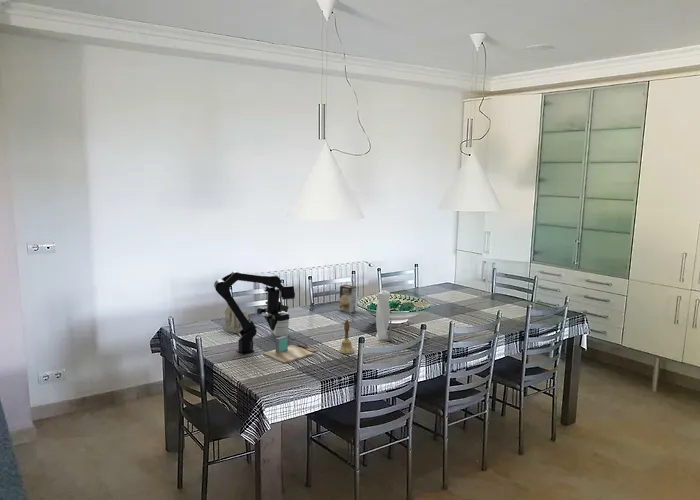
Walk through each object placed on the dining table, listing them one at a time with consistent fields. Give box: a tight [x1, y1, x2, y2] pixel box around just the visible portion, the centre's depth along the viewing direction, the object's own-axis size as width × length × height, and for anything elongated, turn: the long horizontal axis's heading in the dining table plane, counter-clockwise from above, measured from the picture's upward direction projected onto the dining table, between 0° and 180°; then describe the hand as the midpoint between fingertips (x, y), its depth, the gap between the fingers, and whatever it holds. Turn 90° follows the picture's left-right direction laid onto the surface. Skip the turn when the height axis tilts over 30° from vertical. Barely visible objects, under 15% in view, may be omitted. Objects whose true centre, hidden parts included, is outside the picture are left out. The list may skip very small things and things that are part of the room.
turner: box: [297, 343, 318, 353], centre depth 269 cm, size 3×12×1 cm, turn 47°
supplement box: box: [271, 311, 290, 338], centre depth 289 cm, size 7×7×13 cm
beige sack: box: [223, 302, 249, 334], centre depth 297 cm, size 16×16×15 cm
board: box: [263, 344, 314, 364], centre depth 259 cm, size 18×16×1 cm
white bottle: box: [375, 288, 393, 342], centre depth 287 cm, size 8×8×28 cm
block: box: [275, 336, 289, 353], centre depth 260 cm, size 6×2×7 cm, turn 137°
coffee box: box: [338, 284, 357, 314], centre depth 341 cm, size 9×6×16 cm
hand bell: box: [337, 319, 355, 355], centre depth 266 cm, size 8×8×16 cm
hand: (272, 330), depth 264 cm, fingers closed
